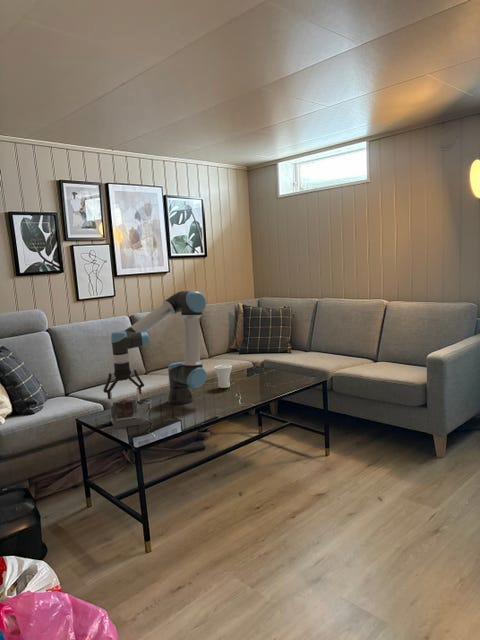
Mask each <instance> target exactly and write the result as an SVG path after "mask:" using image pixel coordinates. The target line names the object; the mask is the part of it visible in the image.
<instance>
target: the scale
mask: <svg viewBox="0 0 480 640" xmlns="http://www.w3.org/2000/svg"><path fill="white" fill-rule="evenodd" d="M128 400H130V401H132V404H133V412H135V414H136V415H137V418H133V419H127V420H120V421H117V420H116V418H115V415H117V407H116V402H119V401H120V400H118V401H113V406H111V402H110V401H109V409H110V410H109V411H110V420H111V423H112V426H113V428H114V429H120V428H127V427H133V426H139V425H142V421H141V417H140V415H139V414H138V412H137V401H136V398H130V399H128Z"/></svg>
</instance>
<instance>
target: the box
mask: <svg viewBox="0 0 480 640" xmlns="http://www.w3.org/2000/svg"><path fill="white" fill-rule="evenodd" d="M118 401H119V402H116V401H115V402H116V407H117V416H120V417H128V416H131V415H133V404H132V401H130V400H129V399H123V400H118Z"/></svg>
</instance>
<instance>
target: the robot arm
mask: <svg viewBox="0 0 480 640" xmlns="http://www.w3.org/2000/svg"><path fill="white" fill-rule="evenodd" d="M206 306H207V300H206V297H205V295H204V294H203V293H201V292H199V291H196V290H186V291H184V290H183V291H182V290H181V291H177V292H176V293H174V294H172V295H171V296H169V297H167V298H166V299H165V300H163V302H162V304H161V305H159V306H158V307H156V308H155V309H154V310H152V311H151V312H149V313H148V314H147V315H145V316H143V317H142V318H140V320H138V321H136V322H134V324H132V325H131V326H129V327H127V328H126V329H124V330H120V331H119V330H118V331H113V332H111V336H110V338H111V339H110V340H111V341H110V342H111V349H112V359H113V362H114V363H113V368H114V372H112V373H111V372H108V374H107V375H108V376H107V380H106V382H105V384H104V387H103V390H102V392H103V393H106V395H107V399H108V400H109V403H110V402H111V406H113V402H114V401H113V393H112V390H114V388H115V386H116V384H117V383H118V382H119V381H127V380H129V381H130V382H131V383H132V384H134V385H135V386H136V397H137V401H138V402H141V398H140V397H141V396H140V395H142V388H143V387H145V384H144V382H143V381H142V379H141V378H140V376H139V375H138V372H137V370H136V369H132V370H131V369H130V368H131V367H130V362H129V361H130V358H129V350H130V349H135V348H136V349H137V348H141V347H146V346H148V345H149V343H150V336H149V334H148V332H149V331H150V330H152V329H153V328H154V327H156V326H157V325H159V324H160V323H161V322H163V321H164V320H165V319H167V318H168V317H170V316H174V315H176V314H178V313H181V314H180V315H181V317H183V326H184V327H183V329H184V332H183V334H184V337H183V338H184V339H183V343H184V349H183V350H184V353H183V354H184V361H177V362H172V363H170V364H169V365H168V366H167V367H168V368H167V372H168V382H169V383H168V385H169V390H168V395H167V404H170V405H185V404H189V403H192V402H193V401H194V395H193V393H192V390H191V388H193V389H194V388H195V389H198V388H200V387H202V386H203V385H204V384H205V382H206V381H207V376H208V375H207V372H206V369H204V368H203V362H202V361H201V358H200V357H201V354H200V353H201V352H200V350H201V349H200V347H201V346H200V343H201V341H200V338H201V337H200V336H201V335H200V333H201V332H200V318H201V317H202V316H203V311H204V310H205V308H206ZM131 374H132V375H134V376H135V378H136V379H137V381H138V382H139V383H138V382H137V381H135V379H134V378H132V376H131ZM113 377H115V378H114V380H113V382H111V380H112V378H113ZM110 383H111V385H110ZM109 385H110V386H109Z"/></svg>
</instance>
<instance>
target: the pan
mask: <svg viewBox="0 0 480 640" xmlns="http://www.w3.org/2000/svg"><path fill="white" fill-rule="evenodd" d="M115 418H116V420H117V421H120V420H127V419H133V418H137V415H136V414H135V412H133V415H131V416H128V417H120V416H117V415H115Z"/></svg>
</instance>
